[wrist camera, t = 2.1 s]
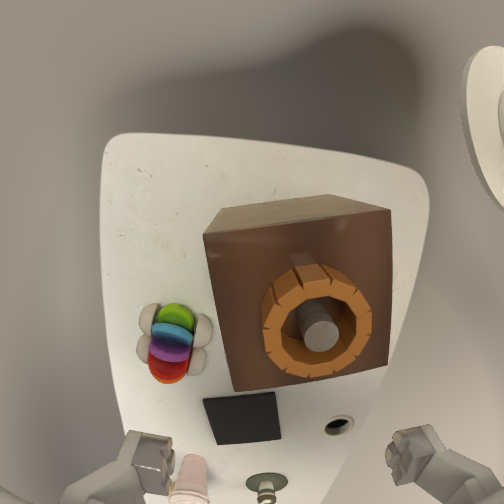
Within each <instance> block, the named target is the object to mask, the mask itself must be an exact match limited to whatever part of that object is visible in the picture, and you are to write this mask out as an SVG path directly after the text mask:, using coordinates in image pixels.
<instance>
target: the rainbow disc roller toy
mask: <svg viewBox="0 0 504 504" xmlns="http://www.w3.org/2000/svg"><path fill="white" fill-rule="evenodd" d="M194 324H195V318H194V317H193V315H192V313H191V312H190V311H189V310H188V309H187V308H185V307H184V306H182V305H179V304H169V305H166V306H164V307H163V308H162V309H160V306H159V304H150V305H148V306H146V307H145V308H143V310H142V311H141V314H140V317H139V326H140V328H141V330H142V332H143V333H144V335H142V336H141V337H140V338H139V341H138V344H137V348H136V352H137V355H138V357H139V358H140V360H141V361H142V362H144V363H146V364H148V365H149V369H150V372H151V374H152V375H153V376H154V378H155V379H157V380H158V381H159V382H161V383H165V384H172V383H175V382H178V381H179V380H181V379H182V378H183V377H184V375H185V373H187V376H195V375H198V374H200V373H201V372H202V371H203V369H204V366H205V361H206V354H205V352H204V350H203V349H202V348H201V347H203V346H205V345H207V344H208V343H209V342H210V338H211V333H212V328H213V326H212V323H211V321H210V320H209V319H208V318H207V317H206V316H204V315H203V314H199V317H198V321H197V324H196V330H195V335H194ZM191 345H192V347H193V350H192V351H191V352H190V349H191V347H190V346H191Z"/></svg>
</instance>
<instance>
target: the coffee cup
mask: <svg viewBox="0 0 504 504" xmlns="http://www.w3.org/2000/svg"><path fill="white" fill-rule="evenodd" d="M287 484H288V480H287V478H286V477H284V476H282V475H279V474H274V473H265V474H258V475H255V476H252V477H250V478H249V479H248V480H247V482H246V486H247V488H249V489H250V490H252V491H255V492H258V498H257V500H258V504H274V503H275V502H276V496H275V491H278V490H281V489H283V488H284V487H285V486H286V485H287Z"/></svg>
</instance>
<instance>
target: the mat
mask: <svg viewBox="0 0 504 504" xmlns="http://www.w3.org/2000/svg"><path fill="white" fill-rule="evenodd" d="M203 403H204V407H205V410H206V413H207V416H208V419H209V422H210V425H211V428H212V431H213V434H214V437H215V440H216V442H217V445H227V444H241V443H253V442H262V441H271V440H279V439H281V433H280V425H279V418H278V410H277V403H276V395H275V392H269V393H261V394H252V395H243V396H232V397H221V398H206V399H203Z"/></svg>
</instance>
